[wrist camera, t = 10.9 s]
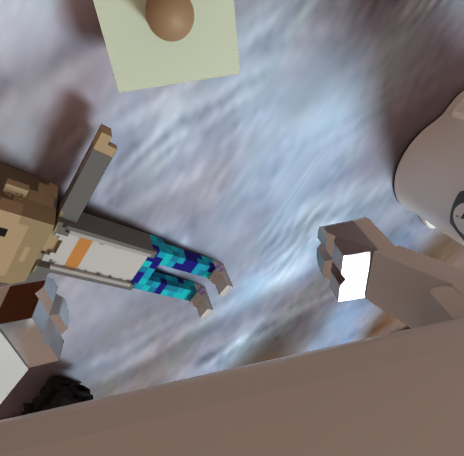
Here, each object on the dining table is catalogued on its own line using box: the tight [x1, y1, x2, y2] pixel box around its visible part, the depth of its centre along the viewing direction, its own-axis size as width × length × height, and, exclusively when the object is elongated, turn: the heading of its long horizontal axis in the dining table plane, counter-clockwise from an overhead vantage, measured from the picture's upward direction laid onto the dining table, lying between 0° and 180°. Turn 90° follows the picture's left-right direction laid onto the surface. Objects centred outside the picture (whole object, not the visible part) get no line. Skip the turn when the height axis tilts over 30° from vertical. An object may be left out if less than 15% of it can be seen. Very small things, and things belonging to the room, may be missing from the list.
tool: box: [20, 376, 93, 416], centre depth 53 cm, size 8×23×15 cm, turn 132°
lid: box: [93, 0, 240, 93], centre depth 25 cm, size 10×10×4 cm
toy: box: [0, 124, 233, 319], centre depth 40 cm, size 26×8×30 cm
